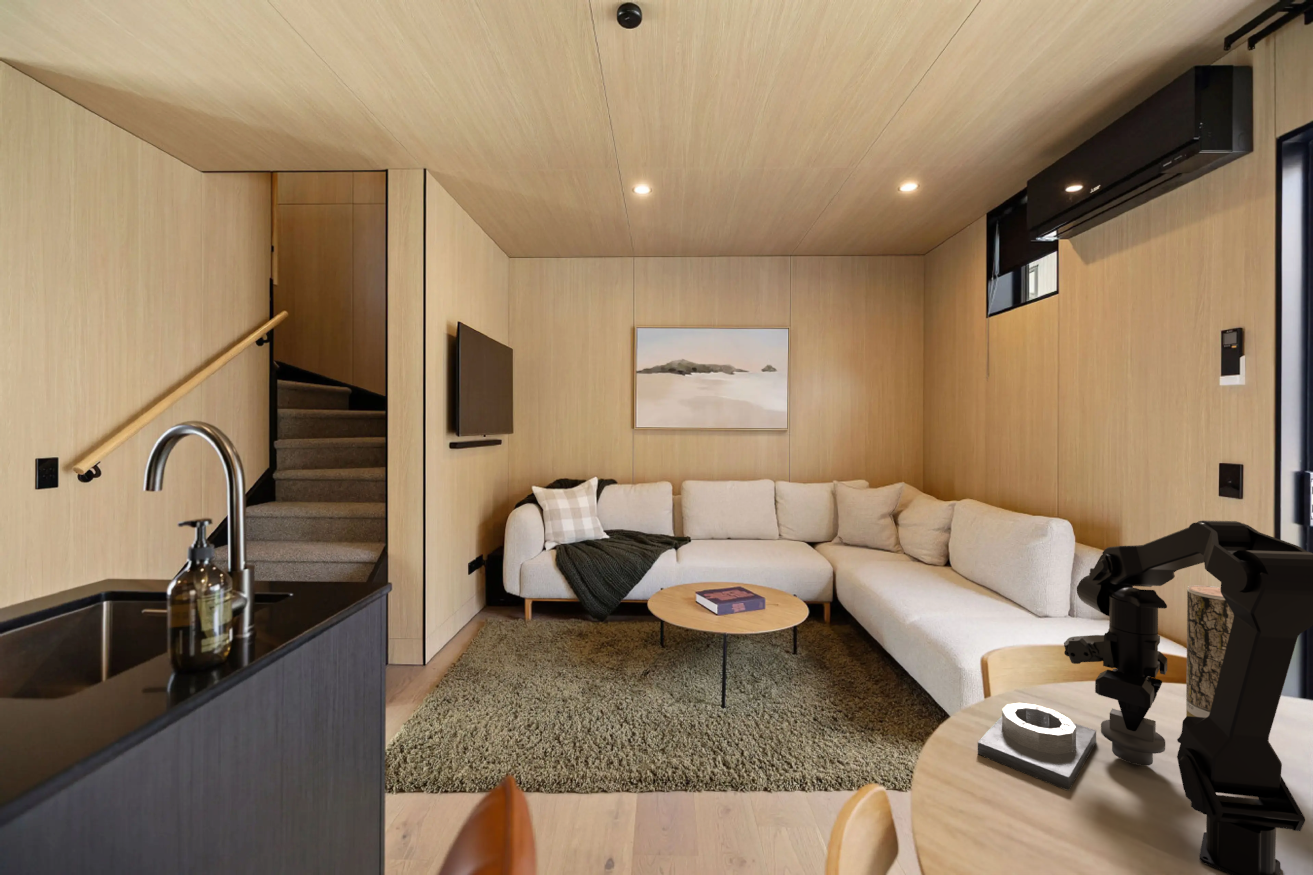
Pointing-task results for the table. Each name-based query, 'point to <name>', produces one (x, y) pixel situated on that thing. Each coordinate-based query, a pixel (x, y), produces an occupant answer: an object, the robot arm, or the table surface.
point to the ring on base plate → (1038, 743)
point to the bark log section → (1205, 646)
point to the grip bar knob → (1133, 739)
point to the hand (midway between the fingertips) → (1132, 727)
